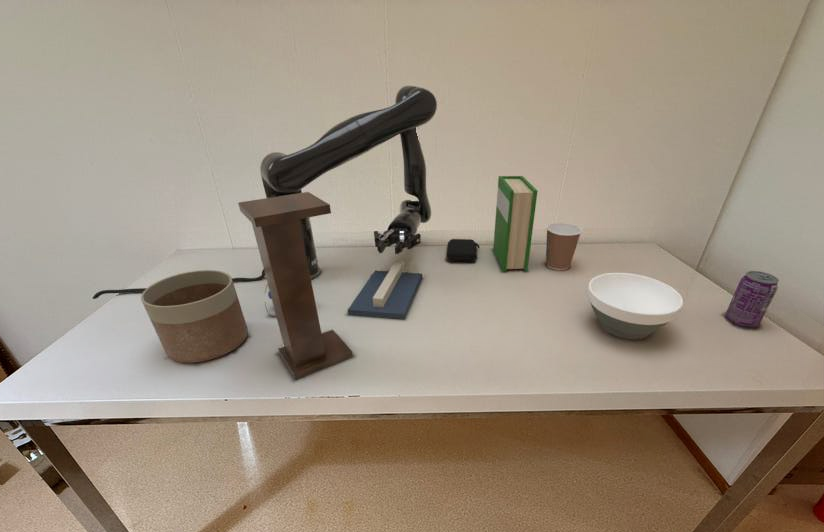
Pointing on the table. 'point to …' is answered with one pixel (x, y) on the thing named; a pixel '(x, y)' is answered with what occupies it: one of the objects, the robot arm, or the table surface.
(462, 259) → the carrying case
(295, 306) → the pedestal
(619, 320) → the bowl
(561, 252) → the coffee cup
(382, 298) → the rod
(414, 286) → the notebook
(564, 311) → the table surface
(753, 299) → the beverage can
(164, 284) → the planter
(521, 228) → the hardback book
